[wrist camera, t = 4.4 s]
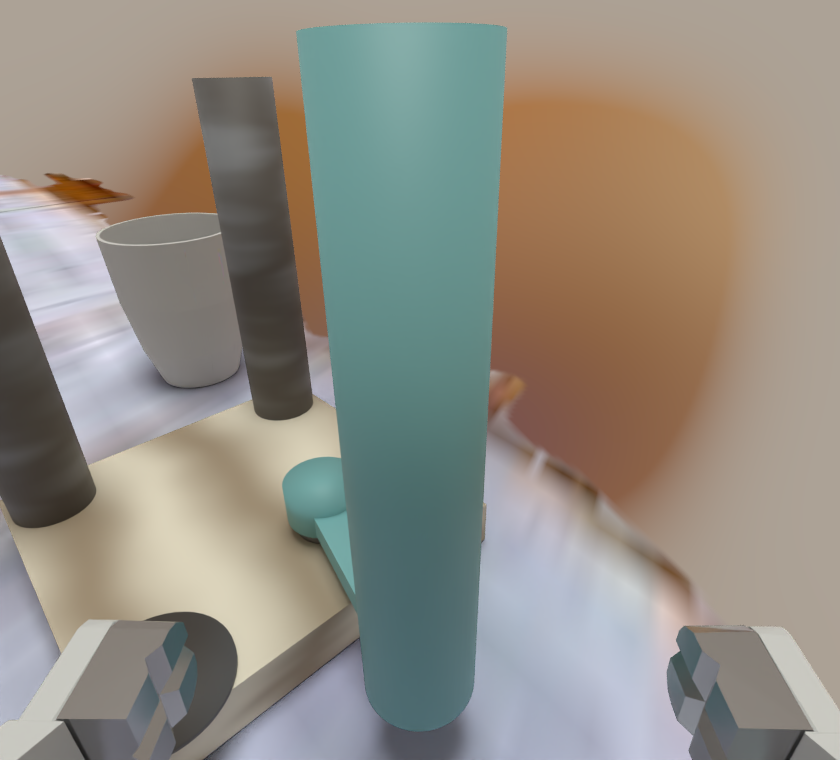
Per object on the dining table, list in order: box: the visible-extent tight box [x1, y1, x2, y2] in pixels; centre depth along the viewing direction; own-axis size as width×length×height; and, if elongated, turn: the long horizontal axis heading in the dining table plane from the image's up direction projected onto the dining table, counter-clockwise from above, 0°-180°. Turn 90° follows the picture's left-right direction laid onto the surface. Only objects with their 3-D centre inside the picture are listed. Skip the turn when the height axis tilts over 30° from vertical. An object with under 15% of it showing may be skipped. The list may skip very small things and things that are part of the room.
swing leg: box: [282, 23, 507, 732], centre depth 15 cm, size 11×3×16 cm, turn 28°
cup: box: [96, 213, 242, 388], centre depth 37 cm, size 8×8×10 cm
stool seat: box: [0, 77, 486, 760], centre depth 20 cm, size 16×16×18 cm
